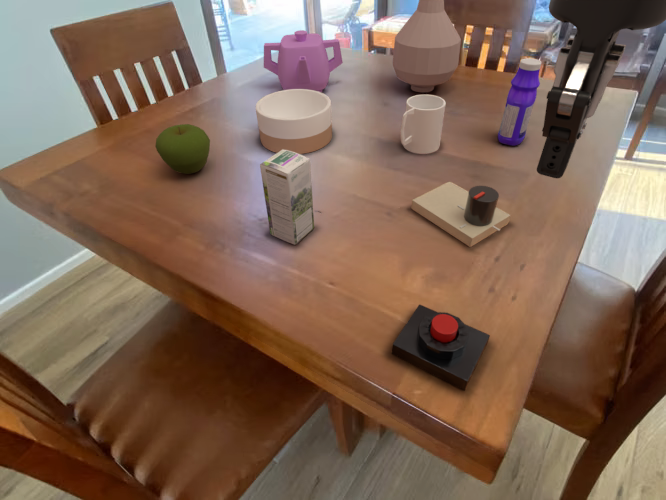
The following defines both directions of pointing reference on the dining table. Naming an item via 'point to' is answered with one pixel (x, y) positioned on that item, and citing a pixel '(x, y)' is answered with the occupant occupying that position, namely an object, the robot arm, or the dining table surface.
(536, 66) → the bottle
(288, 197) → the syrup box
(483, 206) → the hob knob
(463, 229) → the hob panel
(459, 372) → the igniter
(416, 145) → the cup
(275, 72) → the teapot
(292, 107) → the bowl
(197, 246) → the dining table surface
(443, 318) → the button
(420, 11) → the vase
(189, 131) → the apple
